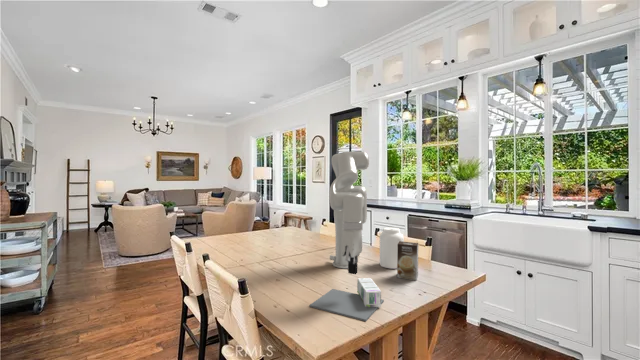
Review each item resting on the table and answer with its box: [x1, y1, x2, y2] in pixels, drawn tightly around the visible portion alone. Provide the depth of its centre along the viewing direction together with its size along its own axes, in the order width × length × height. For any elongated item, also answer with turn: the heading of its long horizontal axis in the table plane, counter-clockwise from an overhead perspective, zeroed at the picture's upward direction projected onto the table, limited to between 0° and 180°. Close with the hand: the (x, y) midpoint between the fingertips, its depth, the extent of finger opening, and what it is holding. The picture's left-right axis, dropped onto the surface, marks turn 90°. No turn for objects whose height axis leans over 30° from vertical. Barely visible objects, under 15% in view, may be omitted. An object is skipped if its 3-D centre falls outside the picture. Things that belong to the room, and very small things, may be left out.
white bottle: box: [379, 226, 405, 270], centre depth 157 cm, size 12×12×20 cm
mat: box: [309, 288, 385, 322], centre depth 110 cm, size 22×18×1 cm
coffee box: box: [396, 241, 419, 281], centre depth 139 cm, size 9×6×16 cm
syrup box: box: [356, 277, 382, 308], centre depth 113 cm, size 6×6×14 cm
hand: (352, 273), depth 114 cm, fingers closed
